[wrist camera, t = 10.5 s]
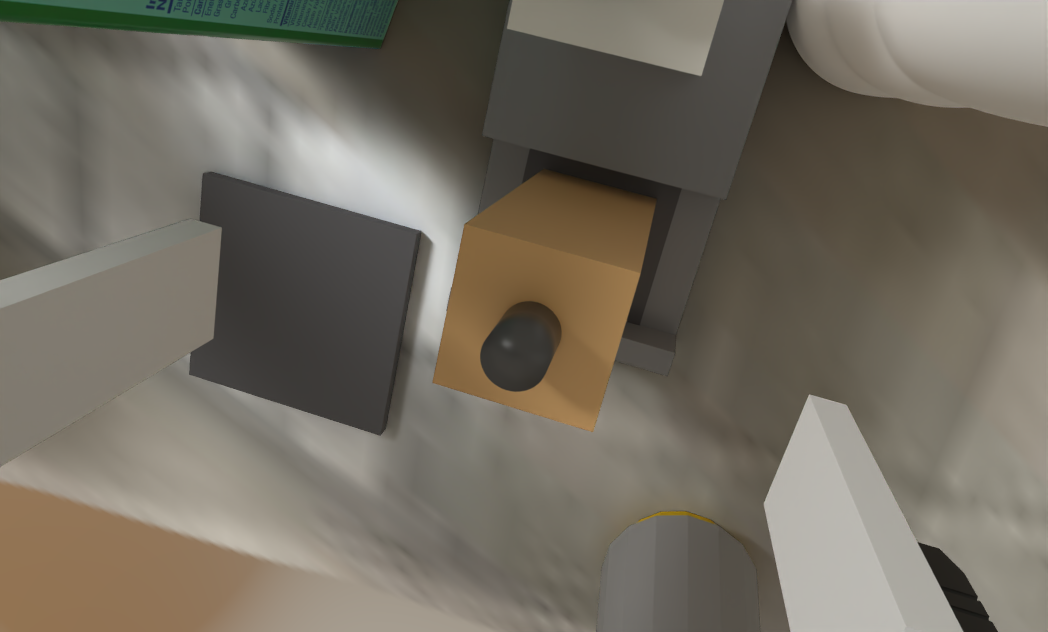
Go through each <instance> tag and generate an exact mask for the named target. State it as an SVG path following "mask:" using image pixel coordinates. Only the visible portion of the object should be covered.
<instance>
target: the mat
mask: <svg viewBox="0 0 1048 632" xmlns="http://www.w3.org/2000/svg"><path fill="white" fill-rule="evenodd" d="M200 221H201V222H204V223H208V224H211V225H215V226H218V227H222V233H221V246H220V259H219V272H218V285H217V298H216V311H215V324H214V337H213V339H212V340H210V341H208V342H207V343H205V344H203V345H202V346H200V347H199V348H197V349H195V350H194V351H192V352H191V356H190V371H189V375H193V376H196V377H199V378H202V379H205V380H208V381H211V382H215V383H218V384H221V385H224V386H227V387H230V388H233V389H236V390H240V391H243V392H246V393H249V394H252V395H255V396H258V397H261V398H265V399H268V400H271V401H274V402H277V403H280V404H283V405H286V406H290V407H293V408H296V409H299V410H302V411H305V412H308V413H311V414H315V415H318V416H321V417H324V418H327V419H330V420H333V421H336V422H340V423H343V424H346V425H349V426H352V427H355V428H358V429H362V430H365V431H368V432H371V433H374V434H377V435H380V436H381V434H382V433H383V432H384V431H385V429H386V423H387V418H388V412H389V407H390V401H391V396H392V390H393V385H394V379H395V374H396V368H397V363H398V357H399V352H400V346H401V341H402V335H403V330H404V324H405V319H406V313H407V308H408V302H409V297H410V291H411V286H412V280H413V275H414V269H415V264H416V258H417V253H418V247H419V241H420V236H421V231H419V230H415V229H412V228H408V227H405V226H401V225H398V224H394V223H391V222H387V221H384V220H380V219H376V218H373V217H369V216H366V215H362V214H359V213H355V212H352V211H348V210H345V209H341V208H338V207H334V206H330V205H327V204H323V203H320V202H316V201H313V200H309V199H306V198H302V197H299V196H295V195H292V194H288V193H284V192H281V191H277V190H274V189H270V188H267V187H263V186H260V185H256V184H253V183H249V182H246V181H242V180H239V179H235V178H231V177H228V176H224V175H221V174H217V173H214V172H208V173H203V179H202V194H201V208H200Z"/></svg>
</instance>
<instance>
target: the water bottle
mask: <svg viewBox="0 0 1048 632" xmlns="http://www.w3.org/2000/svg"><path fill="white" fill-rule="evenodd" d="M786 22H787V27H788V30H789V33H790V36H791V39H792V41H793V43H794V46H795V47H796V49H797V51H798V53H799V54H800V56H801V57H802V59H803V60H804V61H805V62H806V64H807V65H808V66H809V67H810V68H811V69H812V70H813V71H814V72H815V73H816V74H817V75H819V76H820V77H821V78H823V79H824V80H826V81H827V82H829V83H831V84H832V85H834V86H837V87H839V88H841V89H844V90H846V91H850V92H853V93H857V94H862V95H868V96H875V97H886V98H900V99H902V100H906V101H909V102H913V103H917V104H922V105H928V106H935V107H946V108H968V107H969V108H973V109H976V110H979V111H982V112H986V113H989V114H993V115H997V116H1000V117H1004V118H1008V119H1013V120H1017V121H1022V122H1026V123H1031V124H1036V125H1041V126H1046V127H1048V0H792V3H791V6H790V9H789V12H788V15H787V18H786Z"/></svg>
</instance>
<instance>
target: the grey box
mask: <svg viewBox="0 0 1048 632" xmlns="http://www.w3.org/2000/svg"><path fill="white" fill-rule="evenodd" d="M791 3H792V0H509V4H508V9H507V14H506V19H505V24H504V29H503V34H502V39H501V44H500V49H499V54H498V58H497V63H496V68H495V73H494V78H493V83H492V88H491V93H490V98H489V103H488V108H487V113H486V118H485V123H484V128H483V133H482V136H485V137H489V138H493V144H492V149H491V154H490V159H489V163H488V168H487V173H486V178H485V183H484V187H483V192H482V197H481V202H480V206H479V211H478V214H480V213H481V212H483V211H484V210H486V209H487V208H488V207H490V206H491V205H493V204H494V203H496V202H497V201H498V200H500V199H501V198H503V197H504V196H506V195H507V194H508V193H510V192H511V191H513V190H514V189H516V188H517V187H519V186H520V185H521V184H523V183H524V182H526V181H527V180H529V179H530V178H531V177H533V176H534V175H536V174H537V173H539V172H540V171H541V170H543V169H547V170H550V171H554V172H558V173H562V174H565V175H569V176H573V177H577V178H580V179H584V180H588V181H592V182H595V183H599V184H603V185H607V186H610V187H614V188H618V189H622V190H625V191H629V192H633V193H637V194H640V195H644V196H648V197H652V198H655V199H657V201H656V205H655V210H654V214H653V219H652V224H651V228H650V233H649V237H648V242H647V247H646V251H645V256H644V260H643V265H642V270H641V274H640V277H639V281H638V284H637V287H636V291H635V294H634V297H633V301H632V304H631V307H630V311H629V314H628V317H627V321H626V324H625V327H624V331H623V334H622V337H621V341H620V344H619V347H618V351H617V354H616V357H615V361H617V362H621V363H624V364H627V365H631V366H634V367H638V368H641V369H644V370H648V371H651V372H655V373H658V374H661V375H665V376H668V373H669V370H670V367H671V364H672V361H673V358H674V355H675V346H676V333H677V330H678V327H679V324H680V321H681V318H682V315H683V312H684V309H685V306H686V303H687V300H688V297H689V294H690V291H691V288H692V285H693V282H694V279H695V276H696V273H697V270H698V266H699V263H700V260H701V257H702V254H703V251H704V248H705V245H706V242H707V239H708V236H709V233H710V230H711V227H712V224H713V221H714V218H715V215H716V212H717V209H718V206H719V203H720V200H721V199H724V200H726V199H727V196H728V193H729V190H730V187H731V184H732V181H733V178H734V175H735V172H736V169H737V166H738V163H739V160H740V156H741V153H742V150H743V147H744V144H745V141H746V138H747V135H748V132H749V129H750V126H751V123H752V120H753V117H754V114H755V111H756V108H757V105H758V102H759V99H760V96H761V93H762V90H763V87H764V84H765V81H766V78H767V75H768V72H769V69H770V66H771V63H772V60H773V57H774V54H775V51H776V48H777V45H778V42H779V39H780V36H781V33H782V30H783V27H784V24H785V21H786V18H787V15H788V12H789V9H790V6H791ZM451 289H452V287H451ZM450 294H451V291H450ZM449 299H450V296H449ZM448 304H449V301H448ZM447 309H448V306H447ZM446 311H447V310H446Z"/></svg>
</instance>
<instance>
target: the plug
mask: <svg viewBox="0 0 1048 632" xmlns="http://www.w3.org/2000/svg"><path fill="white" fill-rule="evenodd" d="M656 201H657V199H655V198H652V197H648V196H644V195H640V194H637V193H633V192H629V191H625V190H622V189H618V188H614V187H610V186H607V185H603V184H599V183H595V182H592V181H588V180H584V179H580V178H577V177H573V176H569V175H565V174H562V173H558V172H554V171H550V170H547V169H543V170H541V171H540V172H539V173H537V174H536V175H534V176H533V177H531V178H530V179H529V180H527V181H526V182H524V183H523V184H521V185H520V186H519V187H517V188H516V189H514V190H513V191H511V192H510V193H508V194H507V195H506V196H504V197H503V198H501V199H500V200H498V201H497V202H496V203H494V204H493V205H491V206H490V207H488V208H487V209H486V210H484V211H483V212H481V213H480V214H478V215H477V216H476V217H474V218H473V219H471V220H470V221H468V222H467V223H465V225H464V230H463V234H462V239H461V244H460V249H459V254H458V259H457V264H456V269H455V274H454V279H453V284H452V289H451V294H450V299H449V304H448V309H447V313H446V318H445V323H444V328H443V333H442V338H441V343H440V348H439V353H438V358H437V363H436V368H435V373H434V378H433V383H435V384H438V385H441V386H445V387H448V388H451V389H454V390H458V391H461V392H464V393H467V394H471V395H474V396H477V397H480V398H484V399H487V400H490V401H493V402H497V403H500V404H503V405H506V406H510V407H513V408H516V409H519V410H523V411H526V412H529V413H532V414H536V415H539V416H542V417H545V418H549V419H552V420H555V421H558V422H562V423H565V424H568V425H571V426H575V427H578V428H581V429H584V430H588V431H591V432H593V431H594V427H595V424H596V421H597V417H598V414H599V411H600V407H601V404H602V401H603V397H604V394H605V391H606V387H607V384H608V381H609V377H610V374H611V371H612V367H613V364H614V361H615V357H616V354H617V351H618V347H619V344H620V341H621V337H622V334H623V331H624V327H625V324H626V321H627V317H628V314H629V311H630V307H631V304H632V301H633V297H634V294H635V291H636V287H637V284H638V281H639V277H640V274H641V270H642V265H643V260H644V256H645V251H646V247H647V242H648V237H649V233H650V228H651V224H652V219H653V214H654V210H655V205H656Z"/></svg>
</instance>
